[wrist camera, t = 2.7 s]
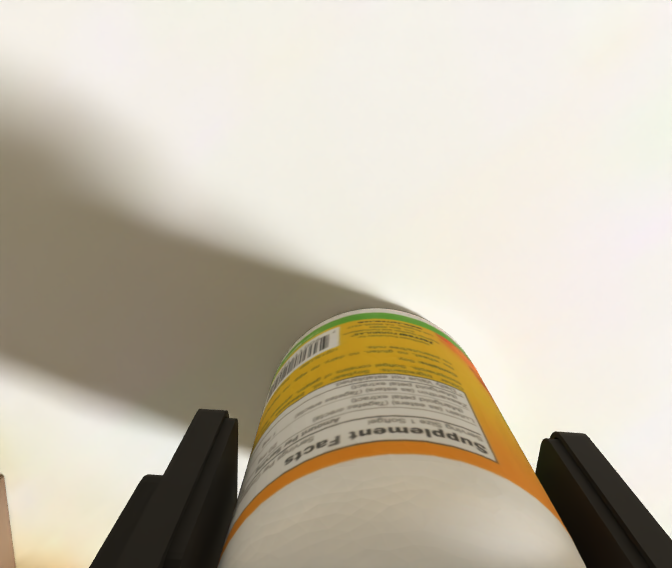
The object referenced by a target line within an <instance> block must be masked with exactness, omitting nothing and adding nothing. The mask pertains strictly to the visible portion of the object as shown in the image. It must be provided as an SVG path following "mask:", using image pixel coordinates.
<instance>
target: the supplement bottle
mask: <svg viewBox="0 0 672 568" xmlns="http://www.w3.org/2000/svg"><path fill="white" fill-rule="evenodd" d="M217 568H586V566H585V564H584V562H583V560H582V558H581V556H580V554H579V552H578V550H577V548H576V546H575V544H574V542H573V540H572V538H571V536H570V534H569V533H568V531H567V529H566V527H565V526H564V524H563V522H562V520H561V518H560V517H559V515H558V513H557V511H556V510H555V508H554V506H553V504H552V502H551V501H550V499H549V497H548V495H547V494H546V492H545V490H544V488H543V487H542V485H541V483H540V481H539V479H538V478H537V476H536V474H535V472H534V471H533V469H532V467H531V465H530V464H529V462H528V460H527V458H526V457H525V455H524V453H523V451H522V450H521V448H520V446H519V444H518V442H517V441H516V439H515V437H514V435H513V434H512V432H511V430H510V428H509V427H508V425H507V423H506V421H505V420H504V418H503V416H502V414H501V412H500V411H499V409H498V407H497V405H496V403H495V402H494V400H493V398H492V396H491V394H490V393H489V391H488V389H487V388H486V386H485V384H484V382H483V381H482V379H481V377H480V375H479V373H478V372H477V370H476V368H475V367H474V365H473V363H472V362H471V360H470V359H469V358H468V356H467V355H466V353H465V352H464V350H463V349H462V348H461V347H460V345H459V344H458V343H457V342H456V341H455V340H454V339H453V338H452V337H451V336H450V335H449V334H447V333H446V332H445V331H444V330H442V329H441V328H439V327H438V326H436V325H435V324H433V323H431V322H429V321H427V320H425V319H423V318H421V317H419V316H416V315H413V314H410V313H406V312H402V311H397V310H392V309H381V308H369V309H360V310H354V311H350V312H346V313H342V314H340V315H337V316H334V317H332V318H330V319H327V320H325V321H324V322H322V323H320V324H318V325H316V326H315V327H313V328H312V329H310V330H309V331H308V332H306V333H305V334H304V335H303V336H302V337H301V338H299V339H298V340H297V341H296V342H295V343H294V345H293V346H292V347H291V348H290V349H289V351H288V352H287V354H286V355H285V357H284V358H283V360H282V362H281V363H280V365H279V367H278V369H277V371H276V374H275V376H274V379H273V381H272V384H271V387H270V390H269V393H268V396H267V400H266V403H265V406H264V410H263V413H262V417H261V420H260V424H259V427H258V431H257V434H256V438H255V441H254V445H253V448H252V451H251V455H250V458H249V462H248V465H247V469H246V472H245V476H244V479H243V482H242V485H241V489H240V492H239V496H238V499H237V502H236V506H235V509H234V513H233V516H232V519H231V523H230V526H229V529H228V533H227V536H226V539H225V543H224V546H223V549H222V553H221V556H220V559H219V563H218V566H217Z"/></svg>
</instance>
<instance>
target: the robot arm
mask: <svg viewBox="0 0 672 568" xmlns="http://www.w3.org/2000/svg"><path fill="white" fill-rule="evenodd" d="M237 473H238V420H237V419H233V418H229V414H228V411H224V410H208V409H199V410H198V411H197V413H196V415H195V417H194V419H193V420H192V422H191V424H190V426H189V428H188V430H187V432H186V433H185V435H184V437H183V439H182V441H181V443H180V445H179V447H178V448H177V450H176V452H175V454H174V456H173V458H172V460H171V461H170V463H169V465H168V467H167V469H166V471H165V473H164V475H149V474H148V475H146V476H144V477H143V478H142V480H141V481H140V483H139V484H138V486H137V488H136V489H135V491H134V493H133V494H132V496H131V498H130V499H129V501H128V503H127V505H126V506H125V508H124V510H123V511H122V513H121V515H120V516H119V518H118V520H117V521H116V523H115V525H114V526H113V528H112V530H111V532H110V533H109V535H108V537H107V538H106V540H105V542H104V543H103V545H102V547H101V548H100V550H99V552H98V553H97V555H96V557H95V559H94V560H93V562H92V564H91V565H90V567H89V568H217V566H218V563H219V559H220V556H221V553H222V549H223V546H224V543H225V539H226V536H227V533H228V529H229V526H230V523H231V519H232V516H233V513H234V509H235V506H236V502H237ZM535 474H536V476H537V478H538V479H539V481H540V483H541V485H542V487H543V488H544V490H545V492H546V494H547V495H548V497H549V499H550V501H551V502H552V504H553V506H554V508H555V510H556V511H557V513H558V515H559V517H560V518H561V520H562V522H563V524H564V526H565V527H566V529H567V531H568V533H569V534H570V536H571V538H572V540H573V542H574V544H575V546H576V548H577V550H578V552H579V554H580V556H581V558H582V560H583V562H584V564H585V566H586V568H672V540H671V539H670V537H669V536H668V535H667V534H666V532H665V531H664V530H663V529H662V527H661V526H660V525H659V524H658V522H657V521H656V520H655V519H654V518H653V516H652V515H651V514H650V513H649V511H648V510H647V509H646V508H645V506H644V505H643V504H642V503H641V501H640V500H639V499H638V498H637V496H636V495H635V494H634V493H633V492H632V490H631V489H630V488H629V487H628V485H627V484H626V483H625V482H624V480H623V479H622V478H621V477H620V475H619V474H618V473H617V472H616V471H615V469H614V468H613V467H612V466H611V464H610V463H609V462H608V461H607V459H606V458H605V457H604V456H603V454H602V453H601V452H600V451H599V449H598V448H597V447H596V446H595V445H594V443H593V442H592V441H591V440H590V438H589V437H588V436H587V435H586V434H583V433H570V432H554V433H552V435H551V436H550V439H548V438H545V439H543V441H542V443H541V446H540V452H539V457H538V462H537V467H536V472H535Z"/></svg>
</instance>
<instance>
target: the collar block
mask: <svg viewBox="0 0 672 568" xmlns="http://www.w3.org/2000/svg"><path fill="white" fill-rule="evenodd" d="M0 568H16V566H15V558H14V551H13V543H12V535H11V528H10V520H9V512H8V505H7V497H6V489H5V482H4V476H0Z"/></svg>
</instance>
